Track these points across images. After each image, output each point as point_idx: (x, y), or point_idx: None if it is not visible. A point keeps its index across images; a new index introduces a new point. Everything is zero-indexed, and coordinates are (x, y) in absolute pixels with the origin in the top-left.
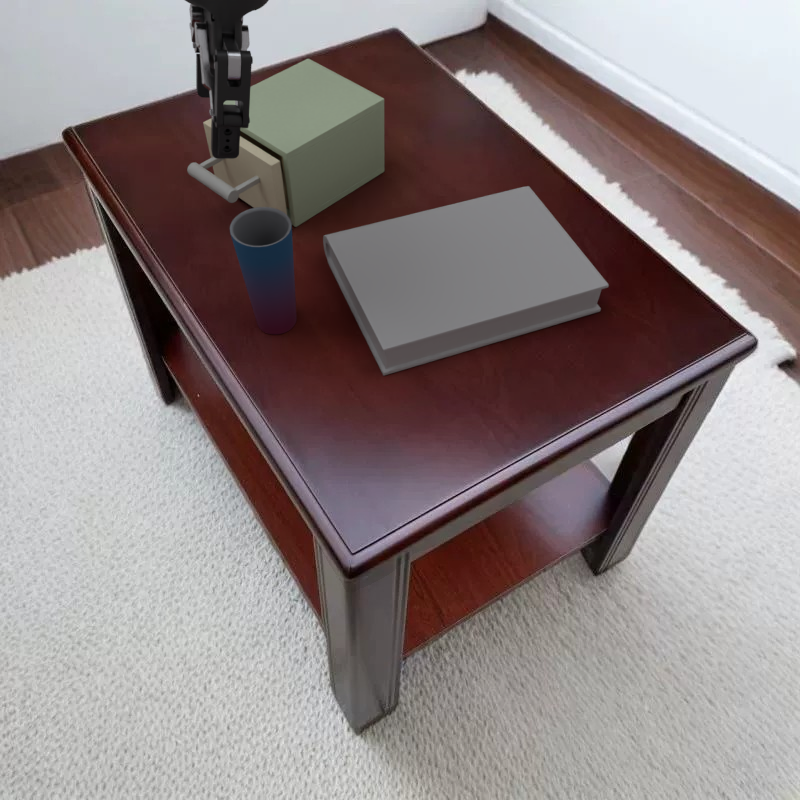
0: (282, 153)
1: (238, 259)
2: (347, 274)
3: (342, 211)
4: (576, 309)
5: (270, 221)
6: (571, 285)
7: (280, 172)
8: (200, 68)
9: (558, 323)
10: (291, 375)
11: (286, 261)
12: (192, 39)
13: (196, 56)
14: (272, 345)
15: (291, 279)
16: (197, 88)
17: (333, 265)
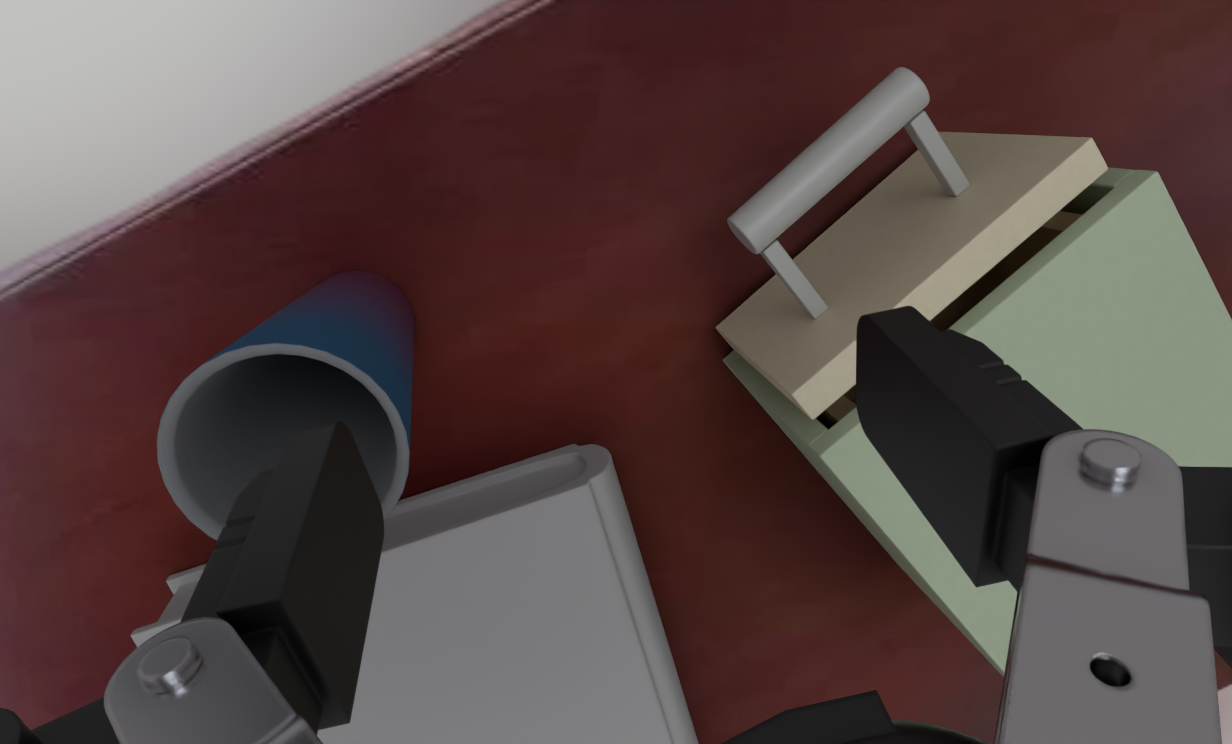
0: (833, 437)
1: (261, 326)
2: (421, 544)
3: (767, 472)
4: None
5: (395, 454)
6: None
7: (793, 402)
8: (948, 419)
9: None
10: (155, 365)
11: None
12: (1021, 593)
13: (1031, 428)
14: (264, 314)
15: None
16: (880, 330)
17: (547, 464)
